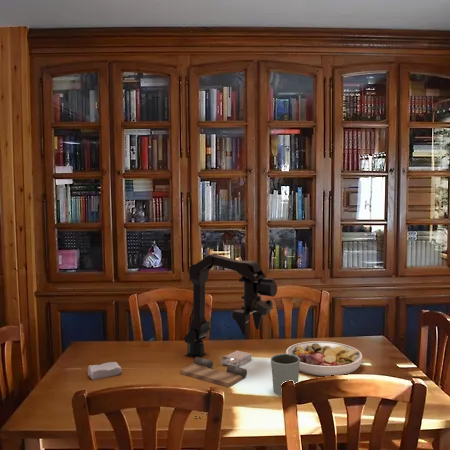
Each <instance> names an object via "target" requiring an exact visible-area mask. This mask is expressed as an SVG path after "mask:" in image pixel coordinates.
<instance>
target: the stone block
mask: <svg viewBox="0 0 450 450" xmlns="http://www.w3.org/2000/svg"><path fill="white" fill-rule="evenodd" d="M121 374H122V367H121V366H120V365H119V363H118V362H116V361H109V362H104V363H101V364H93V365H88V366H87V376H88V377H89V379H91V381H92V380H94V381H95V380H101V379H105V378H110V377H115V376H119V375H121Z"/></svg>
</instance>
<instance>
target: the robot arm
mask: <svg viewBox="0 0 450 450" xmlns="http://www.w3.org/2000/svg"><path fill="white" fill-rule="evenodd" d="M215 266H216V267H221V268H222V269H227V270H231V271H234V272H236V273H237V274H238V275H241V277H240V278H239V279H238V282H240V283H241V282H242V283H243V295H241V299H242V300H243V305H242V306H241V309H236V310H233V311H232V312H231V319H233V321H235V322H236V324H237V325H238V327H239V329H240V331H241V333H242V336H247V332H248V331H247V329H248V322H249V321H251V314H252V318H253V320H252V321H253V323H254V328H255V330H259V329H260V325H261V323H262V320H263V317H264V316H267V315H270V313H271V310H273V309H274V307H273V304H274V303H273V300H271V299H267V300H266V301H265V300H262V296H265V297H271V298H273V297H276V295H277V292H278V286H277V282H276V281H275V280H276V279H275V278H268V277H267V276H266V274H265V273H264V271H263V270H262V268H261V265H260V263H259V262H258V261H256V260H239V259H235V258H230V257H226V256H224V255H223V256H222V255H218V254H216V253H212V254H208V255H206V256H205V257H204V258H203V259H201V260H199V261H198V262H197V263H194V264H192V265H190V267H189V268H188V273H189V280H190V281H191V283H192V289H193V290H192V291H193V292H192V296H193V297H192V298H193V299H192V306H193V307H192V319H191V322H190V324H189V329H188V333H187V334H186V335H185V336H184V337H183V339H184V343H187V353H184V355H185V356H187V357H190V358H191V357H192V358H194V359H195V358H196V357H199V358H201V357H202V356H205V355H206V354H207V353H206V352H205V344H204V340H205V339H206V337H207V336H208V334H209V331H211V329H210V328H211V327H210V326H211V325H210V324H211V323H210V322H211V321H209V320H207V319H206V317H205V316H206V315H205V314H206V305H205V304H206V302H205V301H206V296H205V295H206V283H207V280H208V278H209V274H210V270H211V269H212V268H214V267H215Z"/></svg>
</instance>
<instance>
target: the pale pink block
mask: <svg viewBox="0 0 450 450" xmlns="http://www.w3.org/2000/svg"><path fill="white" fill-rule="evenodd" d="M251 360H253V359H252V353H249V352H246V351H241V350H235V351H233V352H231V353H229V354H227V355H223V356H222V357H221V365H224V366H227V367H228V366H229V365H232V366H236V367H240V368H242V366H244V365H247V364H248V363H249V362H251Z"/></svg>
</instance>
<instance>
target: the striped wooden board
mask: <svg viewBox="0 0 450 450" xmlns="http://www.w3.org/2000/svg"><path fill="white" fill-rule="evenodd" d="M213 366H214V361H213V360H211V359H207V358H204V357H196V358H195V357H194V360H193V363H192V364H190V365H187V366H186V367H183V368H181V369H180V370H179V371H180V374H179V375H184V376H187V377H192V378H195V379H197V380H202V381H205V382H210V383H211V384H217V385H220V386H224V387H226V388H231V387H232V386H233V385H235V384H238V383H239V382H240V381H242V380H243V379H245V378H246V377H247V374H248V370H247V369H246V368H244V367H236V366H232V365H229V366H227V367H226V370H225V371H221V370H217V369H213Z"/></svg>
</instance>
